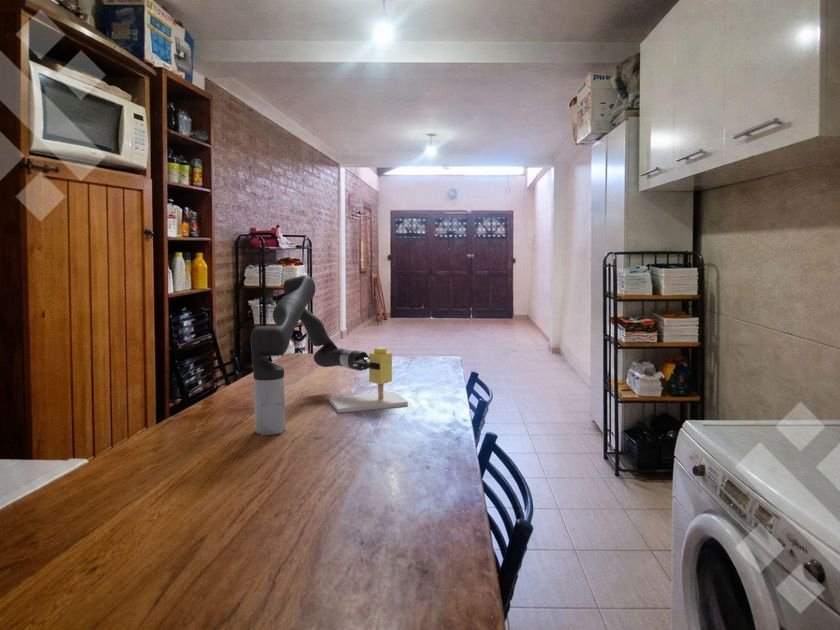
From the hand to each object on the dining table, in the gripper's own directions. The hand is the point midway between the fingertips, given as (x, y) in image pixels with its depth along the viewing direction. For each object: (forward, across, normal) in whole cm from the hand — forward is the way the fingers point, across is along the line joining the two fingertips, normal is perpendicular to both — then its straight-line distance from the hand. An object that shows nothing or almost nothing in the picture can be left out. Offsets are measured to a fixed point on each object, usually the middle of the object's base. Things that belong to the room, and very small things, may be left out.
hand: (385, 365), depth 196 cm
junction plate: (-5, -4, +14) cm, 16 cm away
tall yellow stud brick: (-2, 0, +6) cm, 7 cm away
